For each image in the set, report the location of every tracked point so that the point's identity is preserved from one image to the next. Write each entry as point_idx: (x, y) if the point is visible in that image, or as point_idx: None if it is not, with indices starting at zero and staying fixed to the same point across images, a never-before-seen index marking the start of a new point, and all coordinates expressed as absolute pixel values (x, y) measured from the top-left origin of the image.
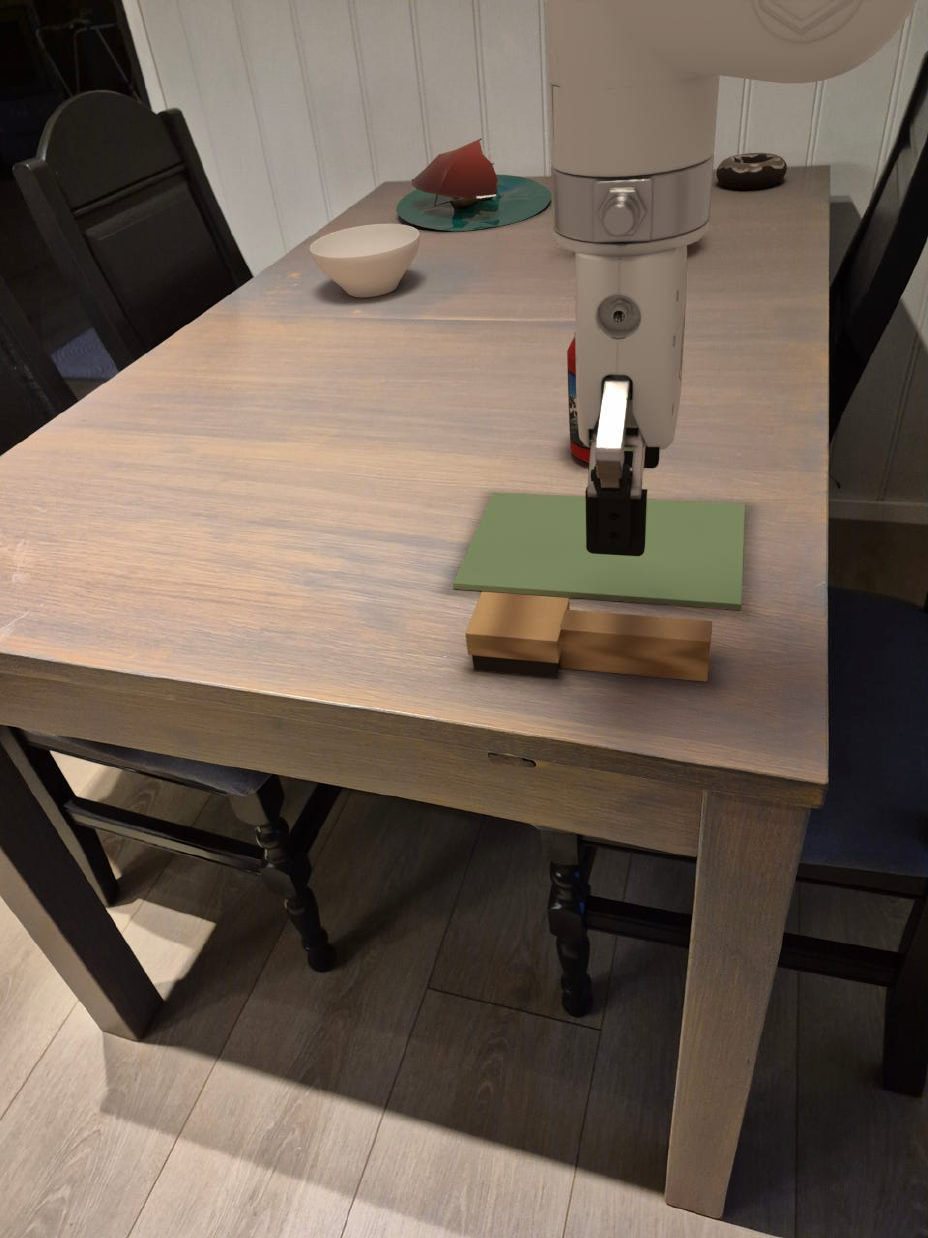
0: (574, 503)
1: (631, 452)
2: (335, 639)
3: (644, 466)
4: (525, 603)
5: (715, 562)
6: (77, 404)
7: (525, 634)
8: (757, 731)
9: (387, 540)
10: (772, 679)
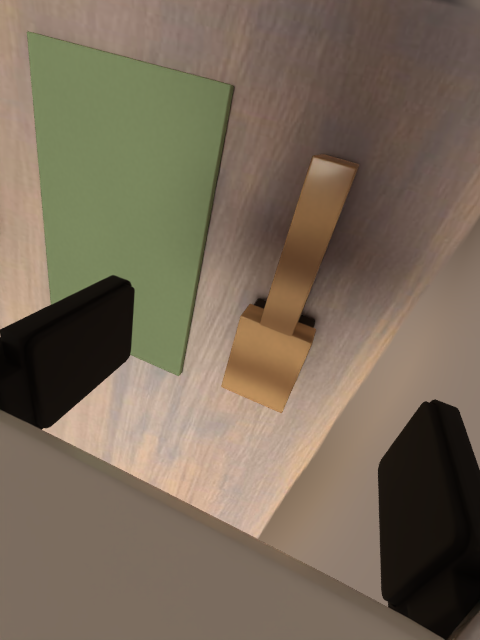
0: (57, 251)
1: (112, 341)
2: (236, 455)
3: (132, 305)
4: (244, 356)
5: (148, 105)
6: None
7: (294, 368)
8: (469, 116)
9: (120, 402)
10: (376, 69)
